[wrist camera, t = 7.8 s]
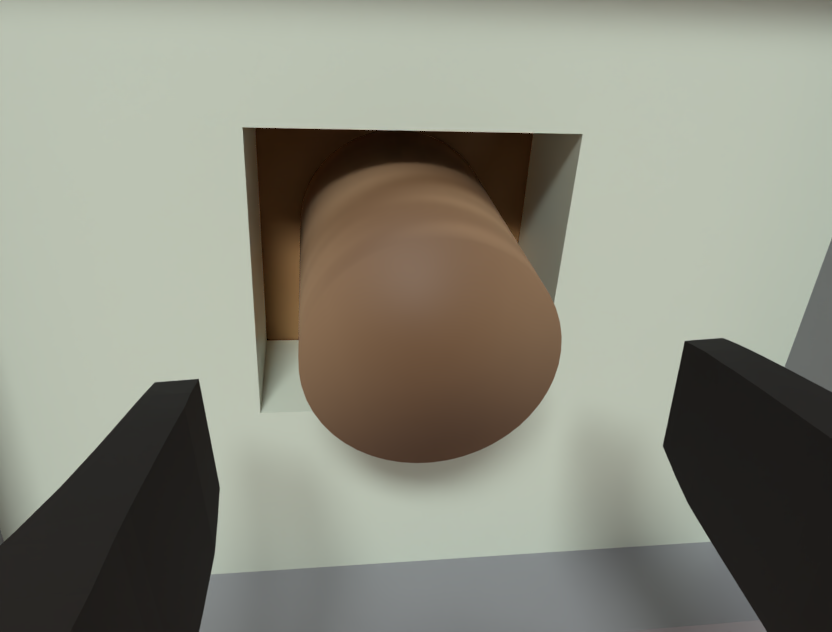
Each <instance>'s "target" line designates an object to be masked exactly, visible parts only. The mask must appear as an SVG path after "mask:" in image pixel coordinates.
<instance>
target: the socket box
mask: <svg viewBox="0 0 832 632" xmlns="http://www.w3.org/2000/svg"><path fill="white" fill-rule="evenodd" d="M255 128H301V129H352V130H403V131H454V132H506V133H533V139H532V146H531V154H530V161H529V168H528V176H527V183H526V190H525V198H524V205H523V213H522V220H521V227H520V235H519V242H518V244H519V246H520V247H521V249H522V251H523V252H524V254H525V255H526V257H527V259H528V260H529V262H530V263H531V265H532V267H533V268H534V270H535V272H536V273H537V275H538V276H539V278H540V280H541V281H542V283H543V284H544V286H545V288H546V289H547V291H548V293H549V294H550V296H551V298H552V301H553V303H554V305H555V307H556V310H557V313H558V317H559V320H560V326H561V335H562V341H561V354H560V360H559V365H558V368H557V371H556V374H555V377H554V380H553V382H552V384H551V386H550V388H549V390H548V392H547V393H546V395H545V396H544V398H543V400H542V401H541V403H540V404H539V405H538V407H537V408H536V409H535V410H534V411H533V412H532V414H531V415H530V416H529V417H528V418H527V419H526V420H525V421H524V422H523V423H522V424H521V425H520V426H518V427H517V428H516V429H515V430H513V431H512V432H511V433H509V434H508V435H507V436H505V437H504V438H502V439H500V440H499V441H497V442H495V443H494V444H492V445H490V446H488V447H486V448H483V449H481V450H479V451H477V452H474V453H471V454H468V455H466V456H463V457H459V458H455V459H451V460H446V461H439V462H431V463H405V462H396V461H390V460H385V459H381V458H378V457H374V456H371V455H368V454H366V453H363V452H361V451H358V450H356V449H354V448H353V447H351V446H349V445H347V444H346V443H344V442H342V441H341V440H340V439H338V438H337V437H336V436H334V435H333V434H332V433H331V432H330V431H329V430H328V429H327V428H326V427H325V426H324V425H323V424H322V423H321V422H320V421H319V419H318V418H317V417H316V415H315V414H314V413H313V411H312V409H311V407H310V406H309V404H308V402H307V400H306V397H305V395H304V392H303V389H302V386H301V381H300V376H299V365H298V342H299V340H271V341H267V333H266V315H265V296H264V278H263V260H262V241H261V223H260V204H259V186H258V168H257V149H256V131H255ZM715 338H724V339H727V340H729V341H732V342H734V343H737V344H739V345H741V346H743V347H745V348H747V349H749V350H752V351H754V352H756V353H758V354H760V355H762V356H764V357H766V358H768V359H770V360H772V361H773V362H775V363H777V364H779V365H781V366H783V367H785V368H787V369H789V370H791V371H793V372H795V373H796V374H798V375H800V376H802V377H804V378H806V379H808V380H810V381H812V382H814V383H816V384H817V385H819V386H821V387H823V388H825V389H827V390H829V391H831V392H832V0H0V545H1V544H2V543H3V542H4V541H5V540H6V539H7V538H9V537H10V536H11V535H12V534H13V533H14V532H15V531H16V530H17V529H18V528H19V527H20V526H21V525H22V524H23V523H24V522H25V521H26V520H27V519H28V518H29V517H30V516H31V515H32V514H33V513H34V512H35V511H36V510H37V509H38V508H39V507H40V506H41V505H42V504H43V503H44V502H45V501H46V500H47V499H48V498H50V497H51V496H52V495H53V494H54V493H55V492H56V491H57V490H58V489H59V488H60V487H61V485H62V484H63V483H64V482H65V481H66V480H67V479H68V478H69V477H70V476H71V475H72V474H73V473H74V472H75V470H76V469H77V468H78V467H79V466H80V465H81V464H82V463H83V462H84V461H85V460H86V459H87V457H88V456H89V455H90V454H91V453H92V452H93V451H94V450H95V449H96V448H97V447H98V445H99V444H100V443H101V442H102V441H103V440H104V439H105V438H106V436H107V435H108V434H109V433H110V432H111V431H112V430H113V428H114V427H115V426H116V425H117V424H118V423H119V422H120V420H121V419H122V418H123V417H124V416H125V415H126V414H127V412H128V411H129V410H130V409H131V408H132V407H133V406H134V404H135V403H136V402H137V401H138V400H139V399H140V398H141V397H142V395H143V394H144V393H145V392H146V391H147V390H148V389H149V388H150V387H151V386H152V385H153V384H154V382H165V381H178V380H190V379H199V382H200V388H201V393H202V398H203V403H204V408H205V413H206V418H207V424H208V429H209V434H210V439H211V444H212V449H213V455H214V460H215V465H216V470H217V475H218V480H219V486H220V494H219V508H218V523H217V535H216V547H215V555H214V560H213V565H212V571H211V576H210V581H209V586H208V591H207V596H206V601H205V606H204V611H203V616H202V620H201V625H200V630H199V632H767V631H766V629H765V628H764V626H763V625H762V623H761V621H760V620H759V618H758V617H757V615H756V613H755V612H754V610H753V609H752V607H751V605H750V604H749V602H748V601H747V599H746V597H745V596H744V594H743V593H742V591H741V589H740V588H739V586H738V584H737V583H736V581H735V580H734V578H733V576H732V575H731V573H730V572H729V570H728V568H727V567H726V565H725V564H724V562H723V560H722V559H721V557H720V556H719V554H718V552H717V551H716V549H715V548H714V546H713V544H712V543H711V541H710V539H709V538H708V536H707V535H706V533H705V531H704V530H703V528H702V526H701V525H700V523H699V521H698V520H697V518H696V516H695V515H694V513H693V511H692V510H691V508H690V506H689V505H688V503H687V501H686V499H685V496H684V494H683V492H682V490H681V488H680V486H679V483H678V481H677V479H676V477H675V474H674V472H673V470H672V467H671V465H670V462H669V460H668V458H667V455H666V453H665V450H664V448H663V442H664V437H665V432H666V428H667V423H668V418H669V413H670V409H671V404H672V399H673V394H674V390H675V385H676V380H677V375H678V371H679V366H680V361H681V356H682V352H683V347H684V342H685V341H690V340H702V339H715Z"/></svg>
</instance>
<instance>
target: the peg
mask: <svg viewBox="0 0 832 632" xmlns="http://www.w3.org/2000/svg"><path fill="white" fill-rule="evenodd" d="M561 341H562V335H561V326H560V320H559V317H558V313H557V310H556V307H555V305H554V303H553V301H552V298H551V296H550V294H549V293H548V291H547V289H546V288H545V286H544V284H543V283H542V281H541V280H540V278H539V276H538V275H537V273H536V272H535V270H534V268H533V267H532V265H531V263H530V262H529V260H528V259H527V257H526V255H525V254H524V252H523V251H522V249H521V247H520V246H519V244H518V242H517V241H516V239H515V238H514V236H513V234H512V233H511V231H510V230H509V228H508V226H507V225H506V223H505V221H504V220H503V218H502V217H501V215H500V213H499V212H498V210H497V209H496V207H495V205H494V204H493V202H492V200H491V199H490V197H489V196H488V194H487V192H486V191H485V189H484V188H483V186H482V184H481V183H480V181H479V179H478V178H477V176H476V175H475V173H474V172H473V170H472V169H471V167H470V166H469V164H468V163H467V162H466V161H465V160H464V159H463V157H462V156H461V155H460V154H459V153H457V152H456V151H455V150H454V149H453V148H451V147H450V146H448V145H447V144H445V143H443V142H442V141H440V140H438V139H435V138H433V137H431V136H428V135H425V134H421V133H418V132H412V131H403V130H389V131H380V132H376V133H371V134H367V135H365V136H362V137H359V138H357V139H354V140H353V141H351V142H349V143H347V144H345V145H343V146H342V147H341V148H339V149H338V150H337V151H335V152H334V153H333V154H331V155H330V156H329V157H328V158H327V159H326V160H325V161H324V162H323V164H322V165H321V166H320V167H319V169H318V170H317V171H316V173H315V174H314V176H313V178H312V179H311V181H310V183H309V185H308V188H307V190H306V192H305V195H304V199H303V203H302V209H301V226H300V284H299V342H298V365H299V376H300V381H301V386H302V389H303V392H304V395H305V397H306V400H307V402H308V404H309V406H310V407H311V409H312V411H313V413H314V414H315V415H316V417H317V418H318V419H319V421H320V422H321V423H322V424H323V425H324V426H325V427H326V428H327V429H328V430H329V431H330V432H331V433H332V434H333V435H334V436H336V437H337V438H338V439H340V440H341V441H342V442H344V443H346V444H347V445H349V446H351V447H353V448H354V449H356V450H358V451H361V452H363V453H366V454H368V455H371V456H374V457H378V458H381V459H385V460H390V461H396V462H405V463H431V462H439V461H446V460H451V459H455V458H459V457H463V456H466V455H468V454H471V453H474V452H477V451H479V450H481V449H483V448H486V447H488V446H490V445H492V444H494V443H495V442H497V441H499V440H500V439H502V438H504V437H505V436H507V435H508V434H509V433H511V432H512V431H513V430H515V429H516V428H517V427H518V426H520V425H521V424H522V423H523V422H524V421H525V420H526V419H527V418H528V417H529V416H530V415H531V414H532V412H533V411H534V410H535V409H536V408H537V407H538V405H539V404H540V403H541V401H542V400H543V398H544V396H545V395H546V393H547V392H548V390H549V388H550V386H551V384H552V382H553V380H554V377H555V374H556V371H557V368H558V365H559V360H560V354H561Z"/></svg>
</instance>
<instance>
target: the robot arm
mask: <svg viewBox="0 0 832 632" xmlns="http://www.w3.org/2000/svg"><path fill="white" fill-rule="evenodd" d="M663 448H664V450H665V453H666V455H667V458H668V460H669V462H670V465H671V467H672V470H673V472H674V474H675V477H676V479H677V481H678V483H679V486H680V488H681V490H682V492H683V494H684V496H685V499H686V501H687V503H688V505H689V506H690V508H691V510H692V511H693V513H694V515H695V516H696V518H697V520H698V521H699V523H700V525H701V526H702V528H703V530H704V531H705V533H706V535H707V536H708V538H709V539H710V541H711V543H712V544H713V546H714V548H715V549H716V551H717V552H718V554H719V556H720V557H721V559H722V560H723V562H724V564H725V565H726V567H727V568H728V570H729V572H730V573H731V575H732V576H733V578H734V580H735V581H736V583H737V584H738V586H739V588H740V589H741V591H742V593H743V594H744V596H745V597H746V599H747V601H748V602H749V604H750V605H751V607H752V609H753V610H754V612H755V613H756V615H757V617H758V618H759V620H760V621H761V623H762V625H763V626H764V628H765V629H766V631H767V632H832V392H831V391H829V390H827V389H825V388H823V387H821V386H819V385H817V384H816V383H814V382H812V381H810V380H808V379H806V378H804V377H802V376H800V375H798V374H796V373H795V372H793V371H791V370H789V369H787V368H785V367H783V366H781V365H779V364H777V363H775V362H773V361H772V360H770V359H768V358H766V357H764V356H762V355H760V354H758V353H756V352H754V351H752V350H749V349H747V348H745V347H743V346H741V345H739V344H737V343H734V342H732V341H729V340H727V339H724V338H715V339H702V340H690V341H685V342H684V347H683V352H682V356H681V361H680V366H679V371H678V375H677V380H676V385H675V390H674V394H673V399H672V404H671V409H670V413H669V418H668V423H667V428H666V432H665V437H664V442H663ZM219 494H220V486H219V480H218V475H217V470H216V465H215V460H214V455H213V449H212V444H211V439H210V434H209V429H208V424H207V418H206V413H205V408H204V403H203V398H202V393H201V388H200V382H199V379H190V380H178V381H165V382H154V384H153V385H152V386H151V387H150V388H149V389H148V390H147V391H146V392H145V393H144V394H143V395H142V397H141V398H140V399H139V400H138V401H137V402H136V403H135V404H134V406H133V407H132V408H131V409H130V410H129V411H128V412H127V414H126V415H125V416H124V417H123V418H122V419H121V420H120V422H119V423H118V424H117V425H116V426H115V427H114V428H113V430H112V431H111V432H110V433H109V434H108V435H107V436H106V438H105V439H104V440H103V441H102V442H101V443H100V444H99V445H98V447H97V448H96V449H95V450H94V451H93V452H92V453H91V454H90V455H89V456H88V457H87V459H86V460H85V461H84V462H83V463H82V464H81V465H80V466H79V467H78V468H77V469H76V470H75V472H74V473H73V474H72V475H71V476H70V477H69V478H68V479H67V480H66V481H65V482H64V483H63V484H62V485H61V487H60V488H59V489H58V490H57V491H56V492H55V493H54V494H53V495H52V496H51V497H50V498H48V499H47V500H46V501H45V502H44V503H43V504H42V505H41V506H40V507H39V508H38V509H37V510H36V511H35V512H34V513H33V514H32V515H31V516H30V517H29V518H28V519H27V520H26V521H25V522H24V523H23V524H22V525H21V526H20V527H19V528H18V529H17V530H16V531H15V532H14V533H13V534H12V535H11V536H10V537H9V538H7V539H6V540H5V541H4V542H3V543H2V544H1V545H0V632H199V630H200V625H201V620H202V616H203V611H204V606H205V601H206V596H207V591H208V586H209V581H210V576H211V571H212V565H213V560H214V555H215V547H216V535H217V523H218V508H219Z"/></svg>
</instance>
